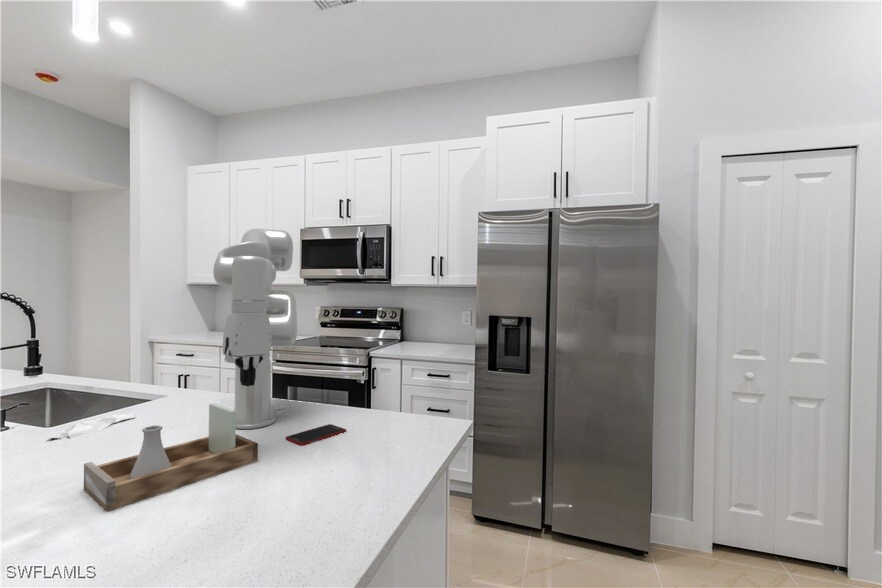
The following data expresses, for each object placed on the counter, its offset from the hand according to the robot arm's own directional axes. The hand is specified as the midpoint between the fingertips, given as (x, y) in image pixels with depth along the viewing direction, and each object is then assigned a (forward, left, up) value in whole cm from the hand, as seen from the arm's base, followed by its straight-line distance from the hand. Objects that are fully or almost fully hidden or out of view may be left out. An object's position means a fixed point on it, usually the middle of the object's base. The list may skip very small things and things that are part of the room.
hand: (247, 385), depth 100 cm
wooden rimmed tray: (+15, 0, -16) cm, 22 cm away
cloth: (+15, -51, -17) cm, 56 cm away
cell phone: (-18, +3, -17) cm, 25 cm away
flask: (+20, 0, -16) cm, 25 cm away
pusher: (+6, 0, -15) cm, 16 cm away
